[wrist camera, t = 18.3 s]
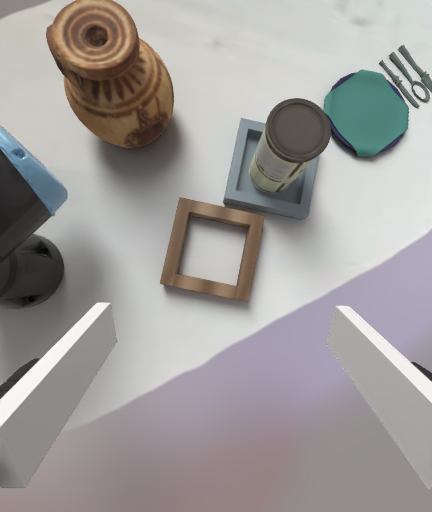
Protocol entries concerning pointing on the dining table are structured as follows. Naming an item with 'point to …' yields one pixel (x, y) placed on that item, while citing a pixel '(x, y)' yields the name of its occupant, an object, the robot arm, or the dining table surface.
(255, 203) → the tray
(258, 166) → the coffee can
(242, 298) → the wooden square frame
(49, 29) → the clay pot
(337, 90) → the cutlery set
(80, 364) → the robot arm
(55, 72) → the dining table surface
